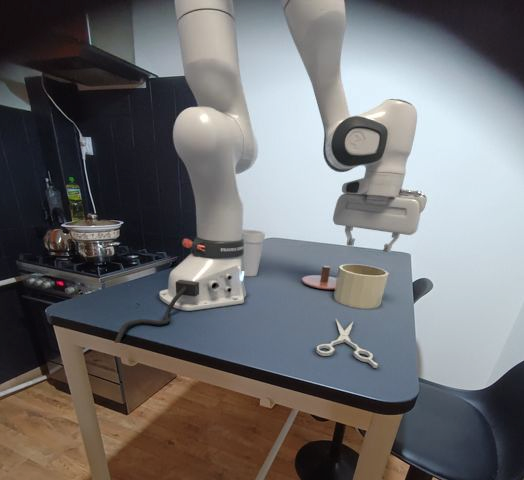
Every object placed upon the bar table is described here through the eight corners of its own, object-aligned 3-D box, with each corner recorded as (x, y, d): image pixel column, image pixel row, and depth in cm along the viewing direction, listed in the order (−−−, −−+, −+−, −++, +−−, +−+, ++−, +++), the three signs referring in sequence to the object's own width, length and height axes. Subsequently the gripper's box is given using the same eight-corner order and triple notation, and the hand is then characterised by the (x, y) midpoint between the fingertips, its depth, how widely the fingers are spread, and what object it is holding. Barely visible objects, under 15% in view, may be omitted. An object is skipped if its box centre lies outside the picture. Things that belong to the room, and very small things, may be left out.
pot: (364, 312, 79) (372, 278, 75) (324, 297, 87) (329, 267, 83) (389, 303, 87) (397, 272, 83) (350, 290, 95) (356, 262, 91)
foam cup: (263, 271, 108) (266, 231, 102) (260, 278, 100) (263, 235, 94) (235, 268, 109) (237, 228, 102) (230, 275, 100) (231, 232, 94)
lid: (327, 294, 91) (331, 274, 88) (292, 282, 99) (295, 264, 96) (354, 287, 99) (358, 269, 96) (320, 276, 107) (322, 259, 105)
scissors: (315, 355, 56) (321, 314, 73) (315, 358, 56) (320, 317, 73) (377, 365, 54) (368, 321, 71) (376, 369, 54) (367, 324, 72)
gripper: (431, 191, 72) (412, 254, 78) (345, 184, 81) (335, 241, 88) (427, 191, 67) (408, 257, 74) (336, 183, 76) (326, 243, 83)
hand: (367, 248), depth 81 cm, fingers open, 8 cm apart
